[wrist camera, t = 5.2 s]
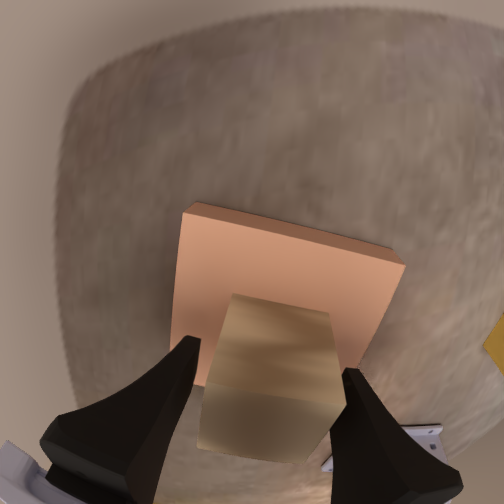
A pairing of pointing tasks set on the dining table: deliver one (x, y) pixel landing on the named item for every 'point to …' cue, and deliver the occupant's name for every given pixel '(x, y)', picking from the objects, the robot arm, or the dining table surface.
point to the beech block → (271, 382)
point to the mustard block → (496, 344)
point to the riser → (277, 278)
